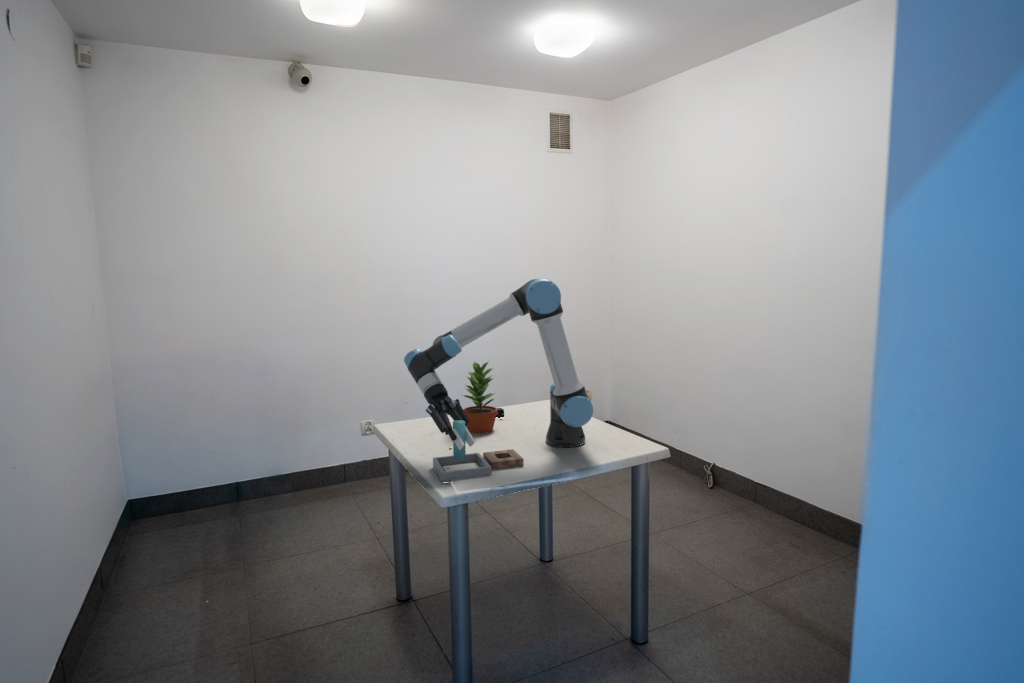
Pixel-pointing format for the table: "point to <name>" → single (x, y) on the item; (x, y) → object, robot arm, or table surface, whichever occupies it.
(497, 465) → the hole block
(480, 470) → the tray
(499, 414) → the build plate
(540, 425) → the table surface
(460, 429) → the ball
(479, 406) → the potted plant
